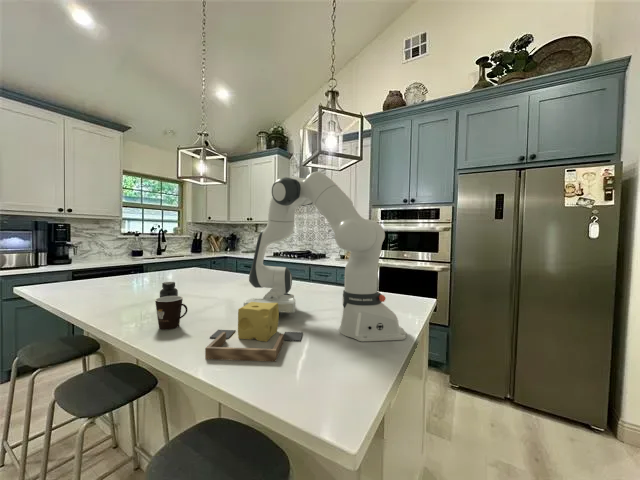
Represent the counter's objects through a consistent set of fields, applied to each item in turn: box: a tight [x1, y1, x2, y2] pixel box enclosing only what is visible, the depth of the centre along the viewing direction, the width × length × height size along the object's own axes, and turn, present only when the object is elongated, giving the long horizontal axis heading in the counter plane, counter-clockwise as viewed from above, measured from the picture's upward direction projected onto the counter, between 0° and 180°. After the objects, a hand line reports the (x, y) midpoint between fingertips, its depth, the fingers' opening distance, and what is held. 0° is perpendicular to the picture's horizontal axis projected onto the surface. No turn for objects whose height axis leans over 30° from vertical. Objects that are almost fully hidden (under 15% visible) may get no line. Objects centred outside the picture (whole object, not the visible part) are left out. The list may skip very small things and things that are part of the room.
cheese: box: [237, 302, 280, 343], centre depth 97 cm, size 10×11×10 cm
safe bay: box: [204, 332, 284, 363], centre depth 84 cm, size 19×12×3 cm, turn 88°
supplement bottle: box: [159, 281, 179, 298], centre depth 122 cm, size 7×7×12 cm
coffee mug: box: [154, 295, 188, 331], centre depth 102 cm, size 12×9×10 cm
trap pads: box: [209, 329, 304, 342], centre depth 96 cm, size 29×7×1 cm, turn 88°
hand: (265, 310), depth 107 cm, fingers closed
